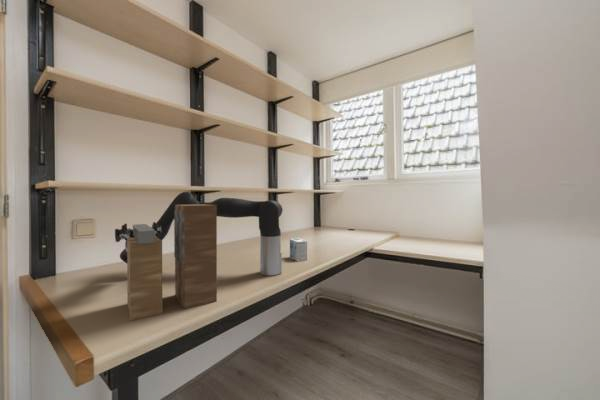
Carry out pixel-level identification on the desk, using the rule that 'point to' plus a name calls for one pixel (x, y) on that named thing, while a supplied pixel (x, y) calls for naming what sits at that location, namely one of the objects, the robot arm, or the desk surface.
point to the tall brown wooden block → (195, 254)
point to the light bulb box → (298, 249)
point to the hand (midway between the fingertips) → (140, 225)
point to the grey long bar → (143, 233)
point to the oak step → (144, 278)
